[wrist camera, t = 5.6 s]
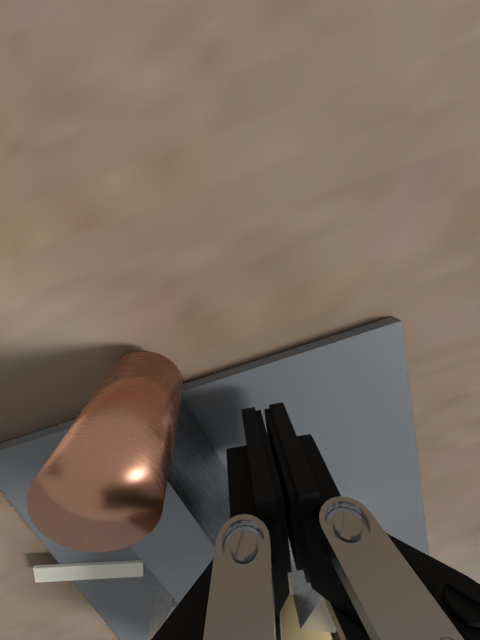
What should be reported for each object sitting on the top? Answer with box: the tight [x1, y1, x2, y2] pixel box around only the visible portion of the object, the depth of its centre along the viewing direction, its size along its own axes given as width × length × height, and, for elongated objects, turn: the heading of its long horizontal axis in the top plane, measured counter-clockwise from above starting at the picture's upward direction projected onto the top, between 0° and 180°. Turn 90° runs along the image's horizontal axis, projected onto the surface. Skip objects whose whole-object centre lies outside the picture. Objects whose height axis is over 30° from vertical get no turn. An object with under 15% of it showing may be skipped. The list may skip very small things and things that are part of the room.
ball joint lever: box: [26, 351, 341, 640], centre depth 11 cm, size 18×10×5 cm, turn 23°
